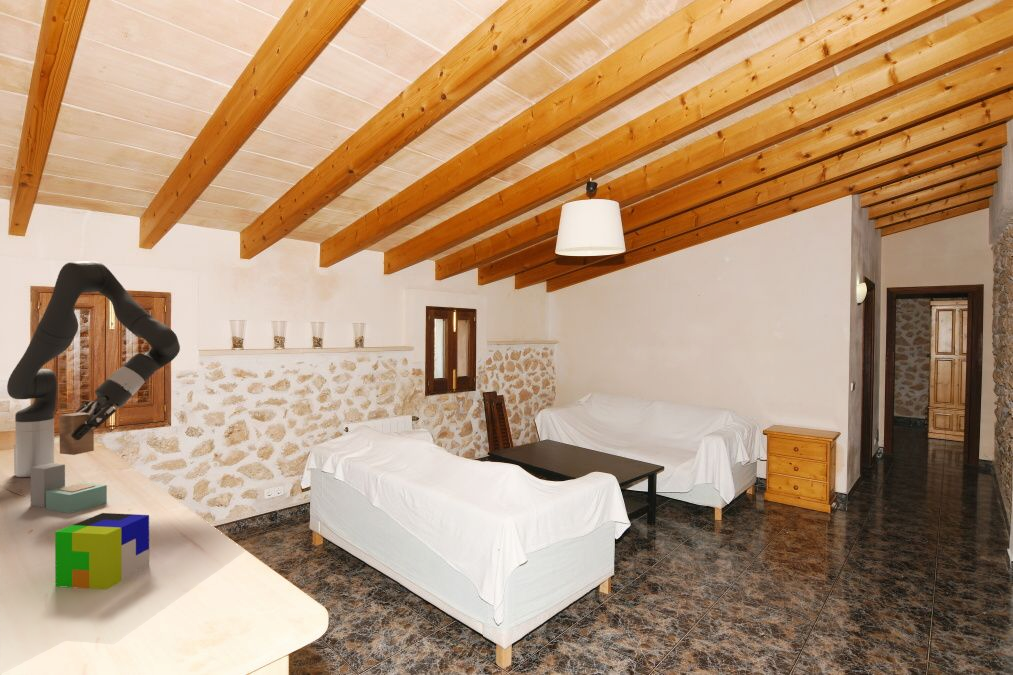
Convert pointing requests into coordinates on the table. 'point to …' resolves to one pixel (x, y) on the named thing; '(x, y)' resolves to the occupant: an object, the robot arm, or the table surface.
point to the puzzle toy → (101, 550)
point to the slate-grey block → (45, 481)
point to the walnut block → (67, 427)
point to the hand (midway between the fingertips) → (68, 436)
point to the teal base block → (76, 497)
